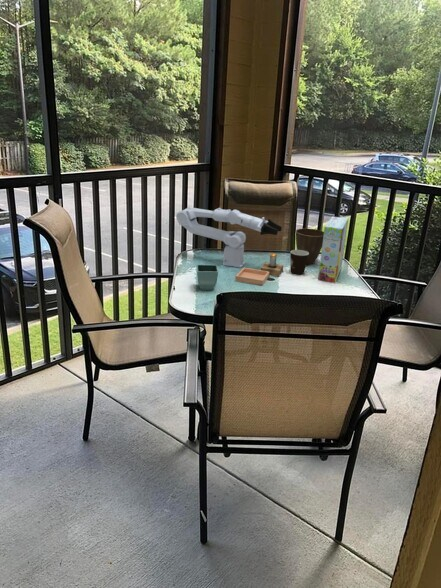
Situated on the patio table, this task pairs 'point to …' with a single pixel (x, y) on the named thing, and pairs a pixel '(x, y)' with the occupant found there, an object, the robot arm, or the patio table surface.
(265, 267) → the block
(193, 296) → the patio table surface
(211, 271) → the flower pot
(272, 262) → the pin
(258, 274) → the dish
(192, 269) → the patio table surface
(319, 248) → the plant pot
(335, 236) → the snack box
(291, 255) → the coffee mug
